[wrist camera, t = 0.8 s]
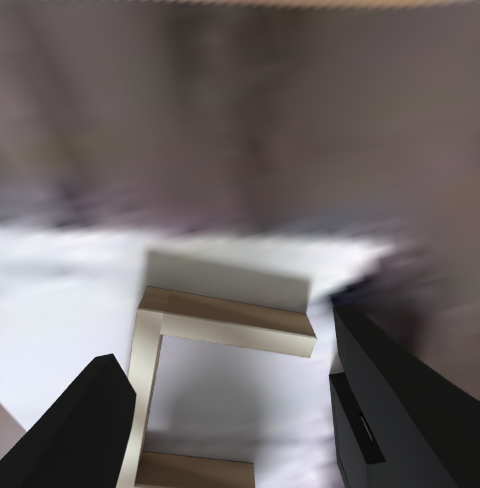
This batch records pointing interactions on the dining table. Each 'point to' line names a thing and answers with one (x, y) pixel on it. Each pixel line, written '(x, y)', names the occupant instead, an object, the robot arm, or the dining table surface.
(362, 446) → the digital camera
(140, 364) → the frame
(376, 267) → the dining table surface
